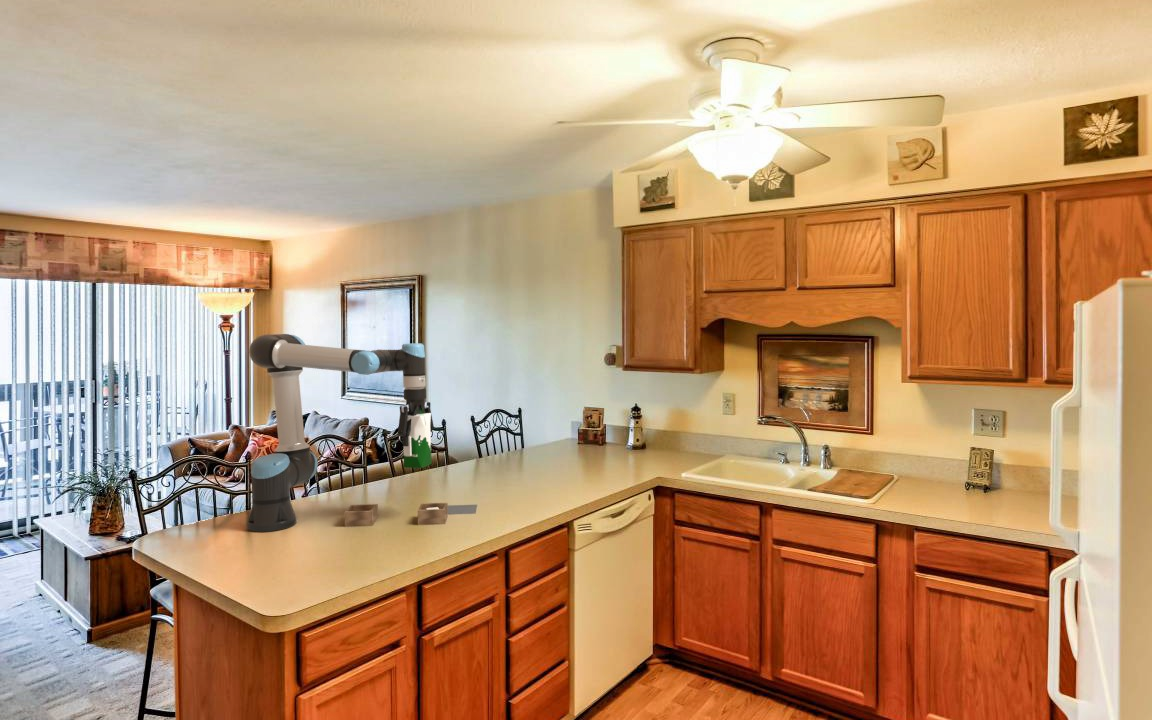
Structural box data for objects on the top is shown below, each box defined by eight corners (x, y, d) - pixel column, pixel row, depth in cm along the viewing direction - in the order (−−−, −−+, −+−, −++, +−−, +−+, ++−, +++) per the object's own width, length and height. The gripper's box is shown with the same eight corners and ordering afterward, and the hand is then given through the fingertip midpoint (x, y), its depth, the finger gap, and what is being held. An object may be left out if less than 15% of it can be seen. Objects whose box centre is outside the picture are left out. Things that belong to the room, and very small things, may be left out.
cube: (428, 522, 221) (427, 511, 221) (426, 519, 225) (426, 508, 225) (439, 521, 223) (439, 509, 223) (438, 518, 226) (437, 507, 226)
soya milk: (435, 463, 230) (433, 406, 229) (422, 469, 221) (420, 410, 220) (412, 462, 232) (410, 406, 231) (399, 468, 223) (397, 409, 223)
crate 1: (344, 528, 218) (344, 512, 217) (351, 520, 227) (351, 505, 226) (372, 527, 219) (372, 511, 218) (378, 519, 228) (377, 504, 227)
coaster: (441, 516, 231) (441, 514, 231) (444, 507, 243) (444, 505, 243) (475, 515, 232) (475, 513, 232) (477, 506, 244) (477, 504, 244)
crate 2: (417, 526, 219) (417, 510, 219) (421, 519, 228) (421, 503, 228) (445, 525, 220) (444, 509, 220) (447, 518, 229) (447, 502, 229)
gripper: (402, 391, 214) (404, 459, 215) (442, 385, 234) (445, 448, 235) (384, 390, 217) (387, 458, 218) (425, 385, 237) (428, 446, 238)
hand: (417, 452), depth 227 cm, fingers closed on soya milk, 9 cm apart
